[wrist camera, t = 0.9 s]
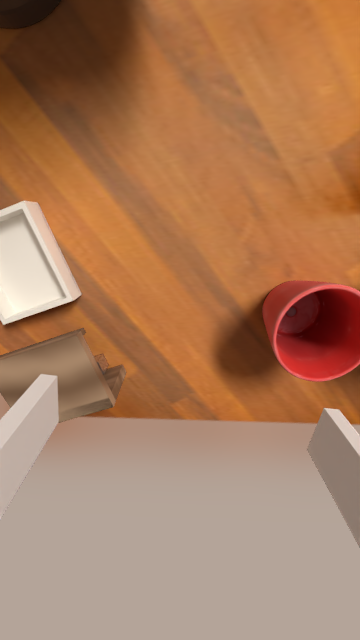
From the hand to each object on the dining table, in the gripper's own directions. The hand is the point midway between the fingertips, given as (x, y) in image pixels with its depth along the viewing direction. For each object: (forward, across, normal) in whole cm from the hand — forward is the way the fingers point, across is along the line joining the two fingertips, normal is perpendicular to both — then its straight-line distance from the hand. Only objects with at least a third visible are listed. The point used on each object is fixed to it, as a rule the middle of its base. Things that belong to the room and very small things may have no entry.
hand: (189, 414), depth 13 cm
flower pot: (+24, +15, -1) cm, 28 cm away
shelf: (+24, -14, -12) cm, 30 cm away
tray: (+24, -21, 0) cm, 32 cm away
